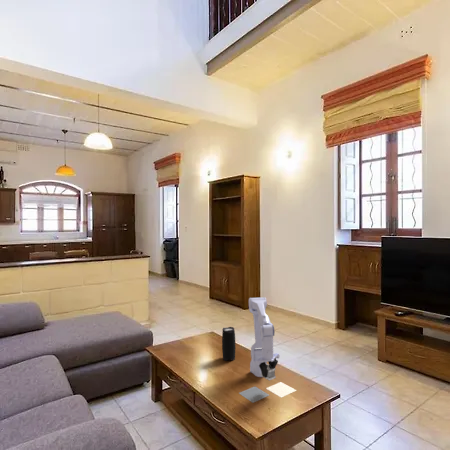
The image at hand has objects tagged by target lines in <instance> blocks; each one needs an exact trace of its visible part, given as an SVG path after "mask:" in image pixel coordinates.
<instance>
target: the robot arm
mask: <svg viewBox="0 0 450 450" xmlns="http://www.w3.org/2000/svg"><path fill="white" fill-rule="evenodd" d="M267 305H268V301H267V297H265V296H264V297H262V296H261V297H249V298H248V310H249V313H251V314H252V316H253V328H254V329H253V331H254V341H255V342H254V344H252V345H251V347H250V358H251V360H250V362H249V370H250V371H249V372H250V373H252V374H253V375H254V376H255V377H258V378H264V377H265V378H264V379H266V376H267V367H268V365H266V364H269V365H270V366H272V367H274V368H276V367H277V365H278V363H279V361H278V359H280V353H274V336H275V326H274V324H273V323H271V319H270V317H269V315H268V314H267V313H266V308H267ZM261 372H262V376H263V377H262V376H261Z"/></svg>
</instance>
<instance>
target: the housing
mask: <svg viewBox="0 0 450 450" xmlns="http://www.w3.org/2000/svg"><path fill="white" fill-rule="evenodd" d="M266 365H268V367H267V376H266V378H265V377H263V376H262V372H261V376H262V377H261V378H264V379H265V380H268V381H271V380H275V379H276V367H275V368H274V367H272V366H270V365H269V363H267V364H266Z"/></svg>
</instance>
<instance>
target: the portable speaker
mask: <svg viewBox="0 0 450 450" xmlns="http://www.w3.org/2000/svg"><path fill="white" fill-rule="evenodd" d="M221 347H222V349H221V351H222V358H223V359H222V360H223V361H225V362H227V361H235V360H236V348H237V346H236V333H235V328H234V327H232V326H228V327H223V328H222V334H221Z"/></svg>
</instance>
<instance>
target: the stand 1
mask: <svg viewBox="0 0 450 450" xmlns="http://www.w3.org/2000/svg"><path fill="white" fill-rule="evenodd" d="M238 394H239V395H241V396H242V397H243V398H245V399H246V400H248V401H250V402H251V403H256V402H258V401H260V400H262V399H265V398H266V397H269V396H270V394H268V393H267V392H265V391H263V390H262V389H260V388H258V387H257V386H252V387H249V388H248V389H245V390H243V391H240V392H238Z"/></svg>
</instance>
